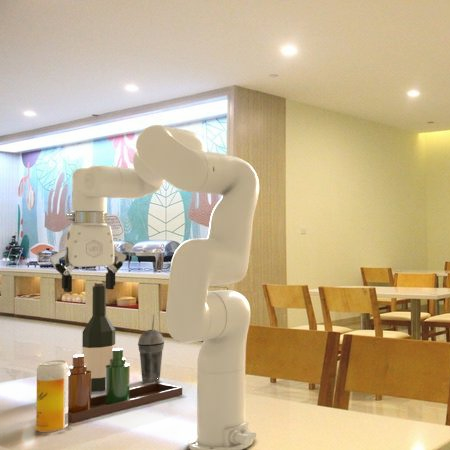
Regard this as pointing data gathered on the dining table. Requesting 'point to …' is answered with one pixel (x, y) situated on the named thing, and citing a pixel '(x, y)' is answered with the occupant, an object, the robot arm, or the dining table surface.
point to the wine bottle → (98, 339)
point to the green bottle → (117, 378)
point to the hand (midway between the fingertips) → (89, 290)
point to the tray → (127, 401)
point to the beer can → (52, 396)
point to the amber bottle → (79, 386)
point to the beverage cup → (151, 354)
